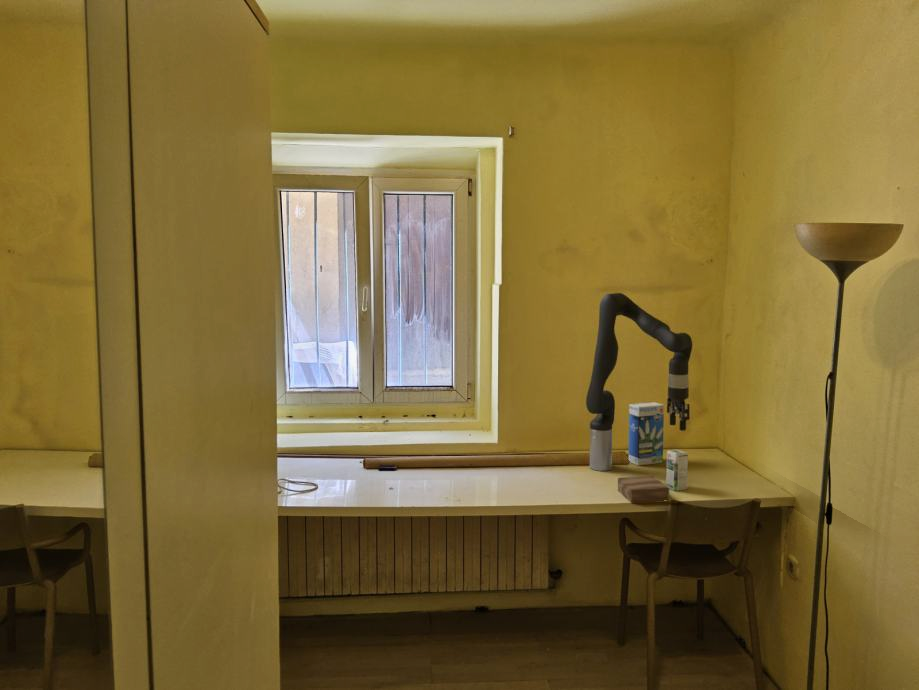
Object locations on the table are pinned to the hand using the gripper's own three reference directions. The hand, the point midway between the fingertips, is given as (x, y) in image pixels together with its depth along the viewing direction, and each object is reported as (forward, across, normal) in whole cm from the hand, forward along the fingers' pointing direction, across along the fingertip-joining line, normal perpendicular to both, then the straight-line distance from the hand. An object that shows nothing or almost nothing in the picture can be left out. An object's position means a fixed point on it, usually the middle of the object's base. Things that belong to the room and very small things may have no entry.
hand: (677, 427), depth 247 cm
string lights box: (+24, -35, +2) cm, 42 cm away
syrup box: (+24, 0, 0) cm, 24 cm away
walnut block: (+24, +6, -16) cm, 29 cm away
